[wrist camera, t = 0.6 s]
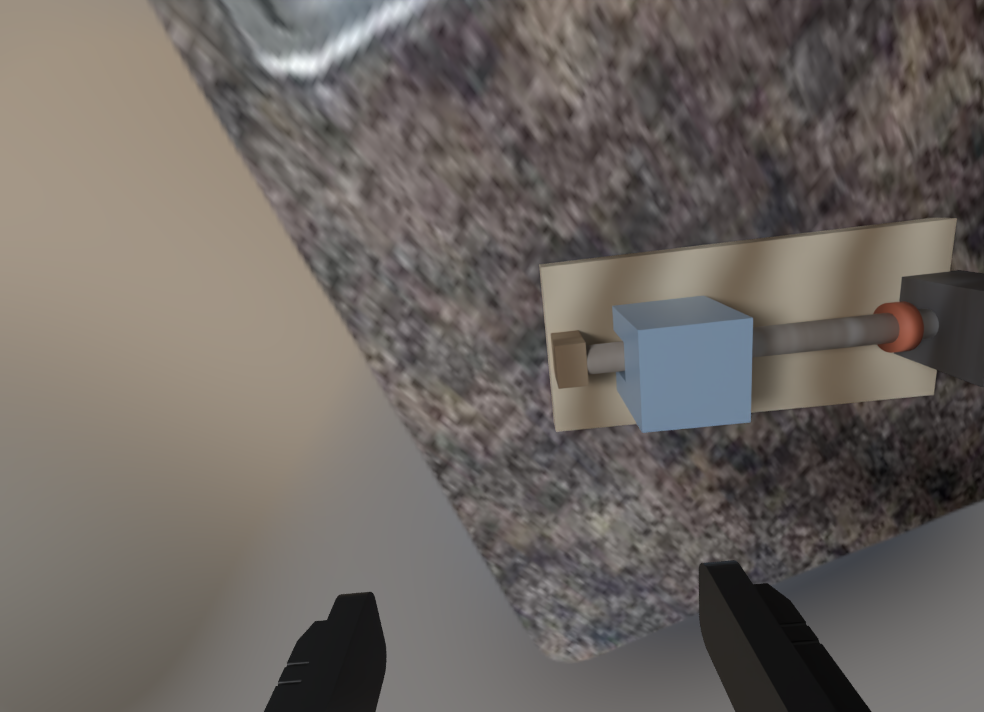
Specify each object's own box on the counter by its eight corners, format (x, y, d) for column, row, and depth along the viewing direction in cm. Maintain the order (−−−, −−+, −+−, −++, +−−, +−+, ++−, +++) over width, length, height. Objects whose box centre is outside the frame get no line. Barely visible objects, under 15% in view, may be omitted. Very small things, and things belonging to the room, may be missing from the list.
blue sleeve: (703, 295, 28) (753, 317, 22) (704, 380, 29) (750, 422, 24) (612, 305, 28) (637, 330, 23) (616, 389, 29) (642, 432, 24)
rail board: (943, 216, 28) (1082, 219, 21) (922, 385, 31) (1039, 435, 24) (539, 264, 30) (548, 281, 23) (554, 421, 32) (566, 479, 26)
